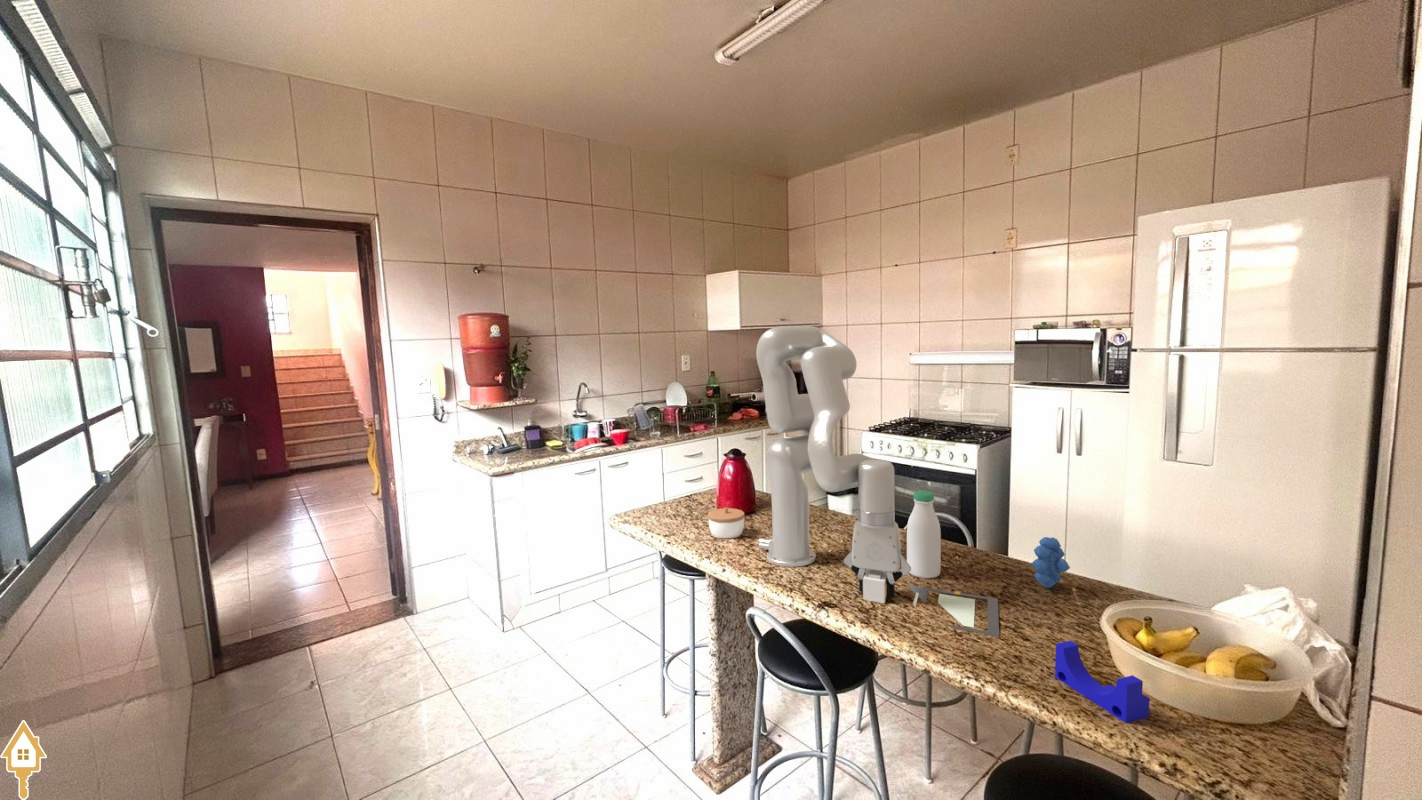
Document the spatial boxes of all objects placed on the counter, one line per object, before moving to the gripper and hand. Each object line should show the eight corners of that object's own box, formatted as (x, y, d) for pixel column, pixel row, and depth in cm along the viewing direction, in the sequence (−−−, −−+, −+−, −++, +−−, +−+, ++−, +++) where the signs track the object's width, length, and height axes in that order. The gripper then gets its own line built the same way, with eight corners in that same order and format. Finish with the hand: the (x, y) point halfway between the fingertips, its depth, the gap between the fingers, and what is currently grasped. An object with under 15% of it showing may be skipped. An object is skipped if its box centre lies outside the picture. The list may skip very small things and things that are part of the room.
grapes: (1057, 601, 120) (1058, 547, 119) (1024, 591, 126) (1025, 539, 124) (1080, 586, 127) (1081, 534, 126) (1048, 577, 132) (1049, 527, 131)
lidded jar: (744, 545, 160) (744, 513, 159) (707, 545, 161) (706, 513, 160) (745, 532, 171) (744, 502, 170) (710, 533, 172) (709, 503, 171)
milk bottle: (943, 580, 133) (944, 497, 131) (909, 578, 134) (909, 496, 132) (937, 567, 140) (937, 488, 138) (904, 565, 142) (904, 488, 140)
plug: (863, 602, 123) (862, 575, 122) (869, 589, 129) (868, 563, 128) (885, 606, 121) (885, 578, 120) (890, 593, 127) (890, 566, 126)
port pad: (934, 621, 113) (934, 620, 113) (939, 594, 125) (939, 593, 125) (973, 628, 110) (973, 627, 110) (975, 600, 122) (975, 599, 122)
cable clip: (1148, 717, 83) (1150, 678, 83) (1125, 723, 82) (1127, 685, 82) (1076, 673, 95) (1077, 639, 94) (1055, 678, 94) (1055, 643, 93)
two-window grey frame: (831, 607, 121) (831, 605, 121) (849, 577, 136) (849, 575, 136) (999, 637, 107) (999, 634, 107) (997, 599, 122) (997, 597, 122)
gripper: (833, 517, 123) (834, 597, 125) (915, 526, 116) (915, 611, 118) (841, 508, 130) (842, 584, 132) (919, 515, 123) (919, 596, 124)
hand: (876, 596), depth 125 cm, fingers closed on plug, 4 cm apart
